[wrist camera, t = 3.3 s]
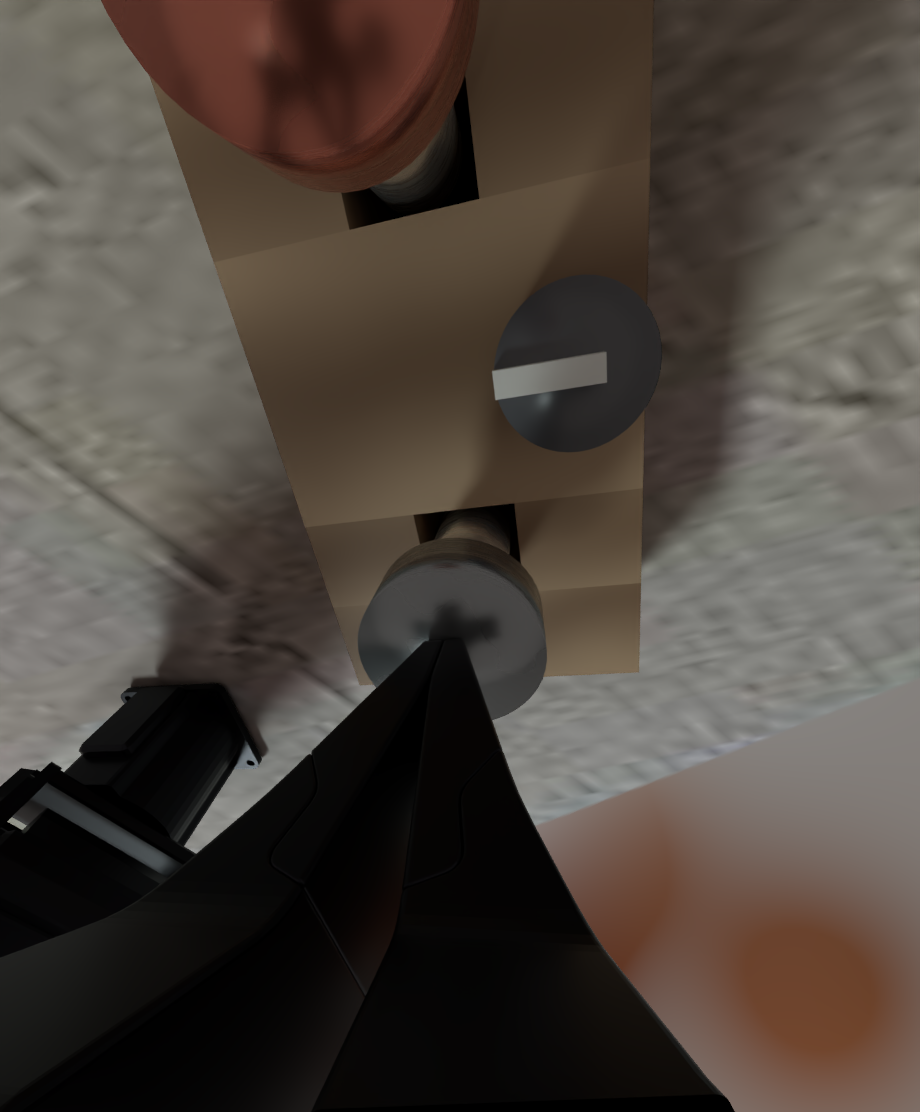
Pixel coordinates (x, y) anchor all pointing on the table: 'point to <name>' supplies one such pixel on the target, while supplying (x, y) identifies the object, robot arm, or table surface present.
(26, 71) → the table surface
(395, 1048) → the robot arm
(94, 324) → the table surface
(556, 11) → the mount
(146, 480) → the table surface
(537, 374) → the dial
